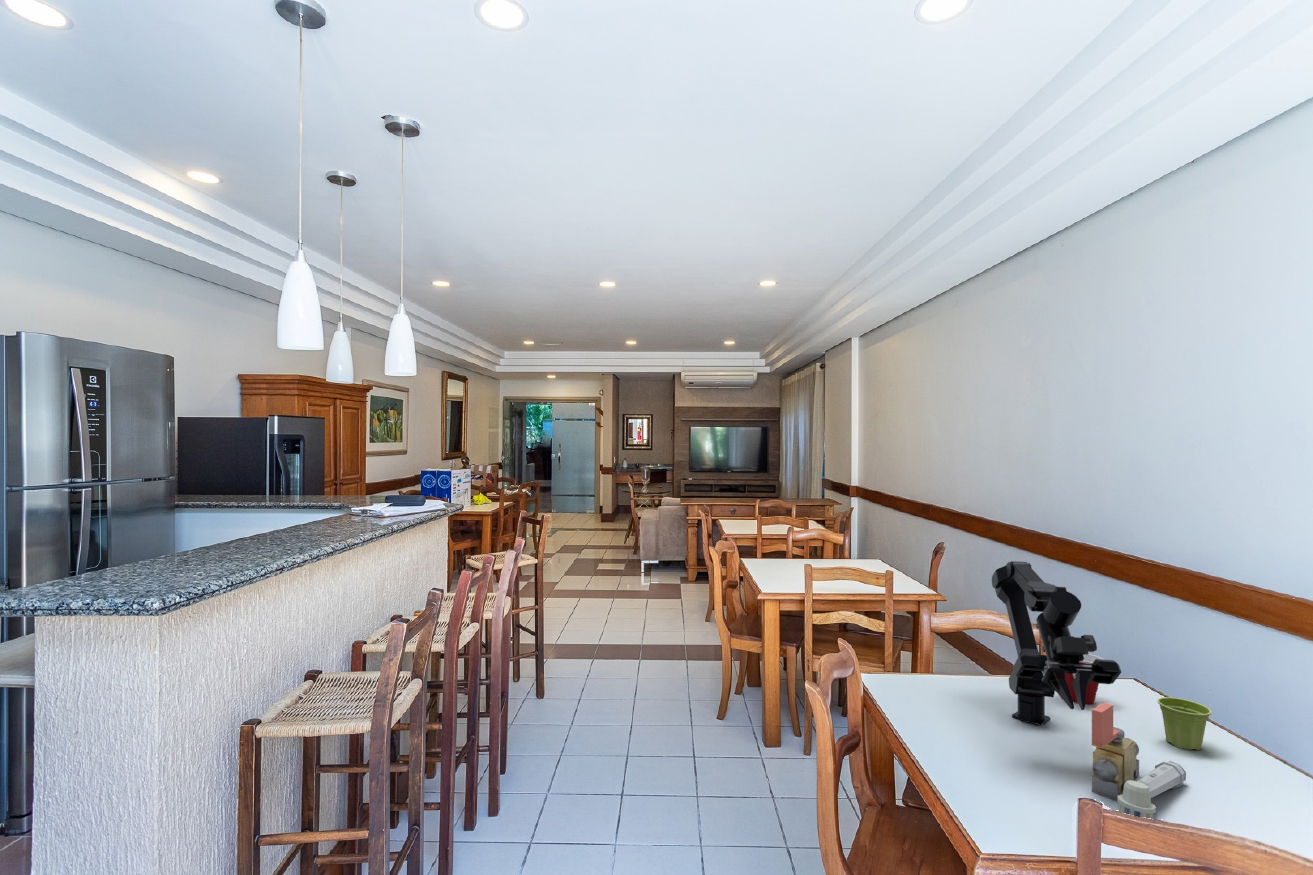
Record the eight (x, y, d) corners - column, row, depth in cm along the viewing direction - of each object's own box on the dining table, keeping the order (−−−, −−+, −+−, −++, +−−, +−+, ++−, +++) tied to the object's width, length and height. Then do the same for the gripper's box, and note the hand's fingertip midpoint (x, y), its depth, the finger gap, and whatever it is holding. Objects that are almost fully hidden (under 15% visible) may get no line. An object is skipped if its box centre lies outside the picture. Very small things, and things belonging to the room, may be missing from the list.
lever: (1108, 730, 127) (1108, 695, 127) (1126, 735, 125) (1126, 700, 125) (1087, 745, 121) (1087, 708, 121) (1106, 751, 118) (1106, 713, 118)
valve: (1114, 765, 133) (1114, 720, 133) (1142, 774, 129) (1142, 728, 129) (1089, 791, 122) (1089, 742, 122) (1118, 801, 119) (1118, 751, 119)
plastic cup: (1117, 709, 162) (1117, 661, 162) (1074, 708, 162) (1074, 660, 162) (1089, 693, 173) (1088, 648, 173) (1048, 692, 173) (1048, 647, 173)
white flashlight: (1191, 766, 125) (1149, 787, 110) (1190, 801, 124) (1147, 828, 110) (1158, 755, 129) (1113, 774, 114) (1156, 790, 129) (1112, 813, 114)
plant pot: (1212, 744, 143) (1212, 705, 143) (1210, 758, 136) (1210, 717, 136) (1159, 731, 149) (1159, 693, 150) (1155, 744, 143) (1155, 705, 143)
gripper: (1019, 616, 137) (1038, 686, 126) (1117, 622, 133) (1145, 695, 122) (1006, 641, 145) (1023, 710, 134) (1099, 648, 141) (1124, 719, 130)
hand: (1077, 708), depth 130 cm, fingers closed
